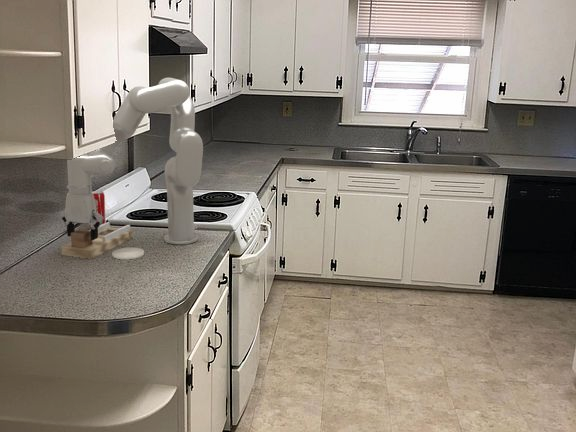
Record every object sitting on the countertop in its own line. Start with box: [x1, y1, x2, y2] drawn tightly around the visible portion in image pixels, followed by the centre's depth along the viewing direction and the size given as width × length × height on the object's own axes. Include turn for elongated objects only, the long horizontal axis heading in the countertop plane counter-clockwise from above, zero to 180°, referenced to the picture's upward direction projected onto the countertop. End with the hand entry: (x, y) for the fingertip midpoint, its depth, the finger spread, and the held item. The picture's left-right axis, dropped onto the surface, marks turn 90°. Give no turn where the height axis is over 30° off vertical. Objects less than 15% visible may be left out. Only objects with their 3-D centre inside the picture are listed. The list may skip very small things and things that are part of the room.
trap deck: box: [61, 221, 134, 260], centre depth 235 cm, size 26×12×5 cm, turn 160°
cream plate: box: [111, 246, 145, 261], centre depth 227 cm, size 11×11×1 cm
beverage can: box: [89, 190, 106, 230], centre depth 254 cm, size 6×6×15 cm
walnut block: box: [70, 228, 93, 249], centre depth 226 cm, size 5×5×5 cm
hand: (82, 237), depth 227 cm, fingers open, 9 cm apart
